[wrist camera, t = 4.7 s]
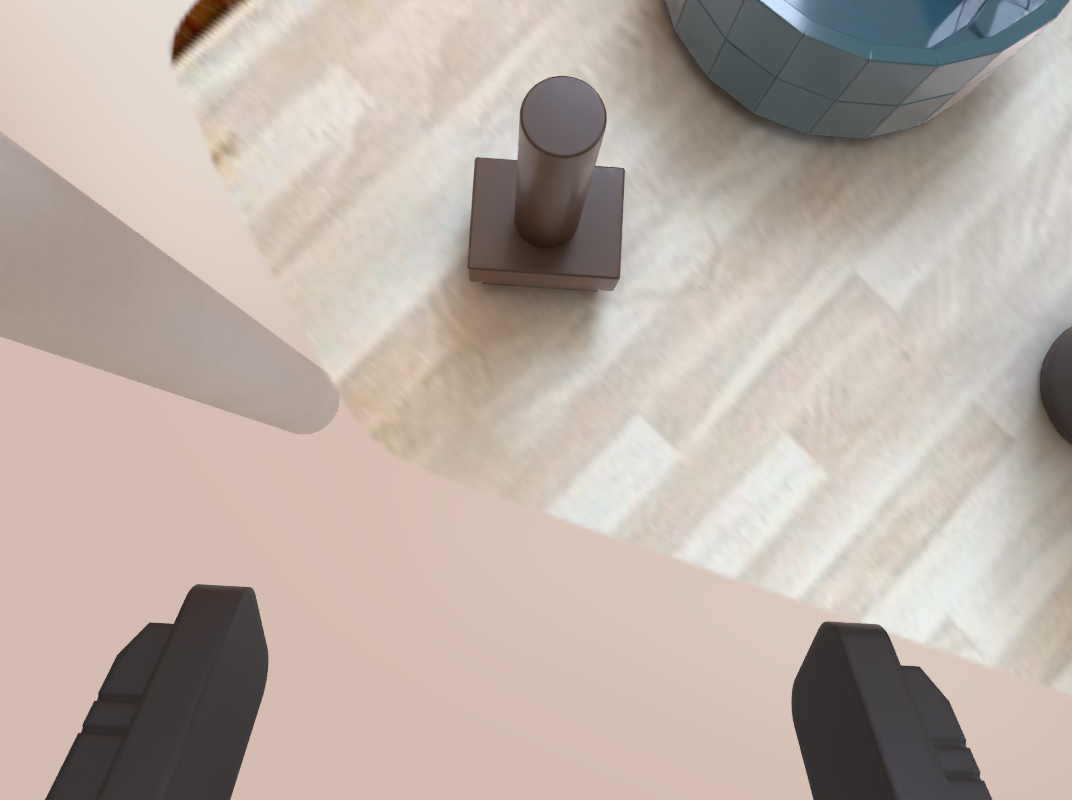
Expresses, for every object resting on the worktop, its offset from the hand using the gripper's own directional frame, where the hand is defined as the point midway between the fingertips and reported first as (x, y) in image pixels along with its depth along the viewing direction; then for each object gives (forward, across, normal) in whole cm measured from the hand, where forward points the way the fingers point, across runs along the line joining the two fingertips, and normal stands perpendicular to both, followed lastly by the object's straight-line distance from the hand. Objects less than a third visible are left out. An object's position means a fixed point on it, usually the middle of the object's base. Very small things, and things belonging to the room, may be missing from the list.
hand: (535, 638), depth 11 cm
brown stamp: (+21, 0, +4) cm, 21 cm away
